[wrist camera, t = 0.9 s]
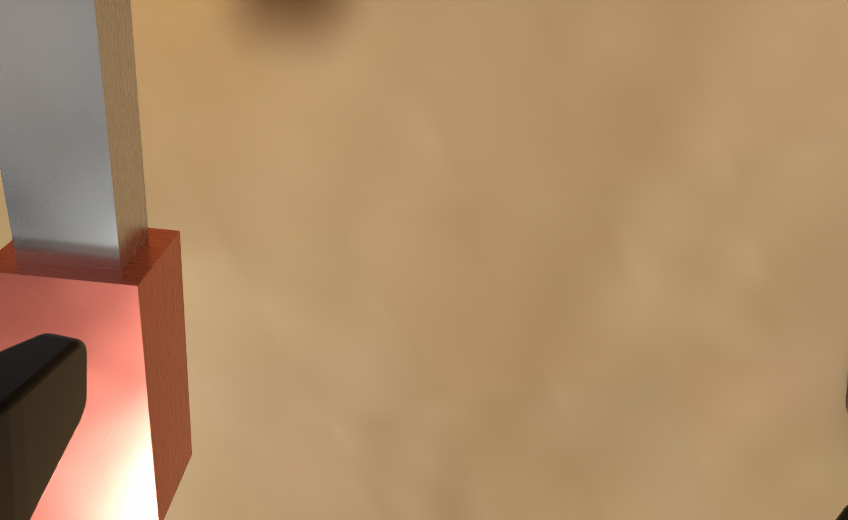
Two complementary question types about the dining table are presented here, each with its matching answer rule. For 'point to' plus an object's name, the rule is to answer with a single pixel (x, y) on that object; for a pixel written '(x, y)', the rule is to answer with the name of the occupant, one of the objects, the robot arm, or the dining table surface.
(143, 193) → the valve lever
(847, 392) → the plant pot
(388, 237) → the dining table surface
